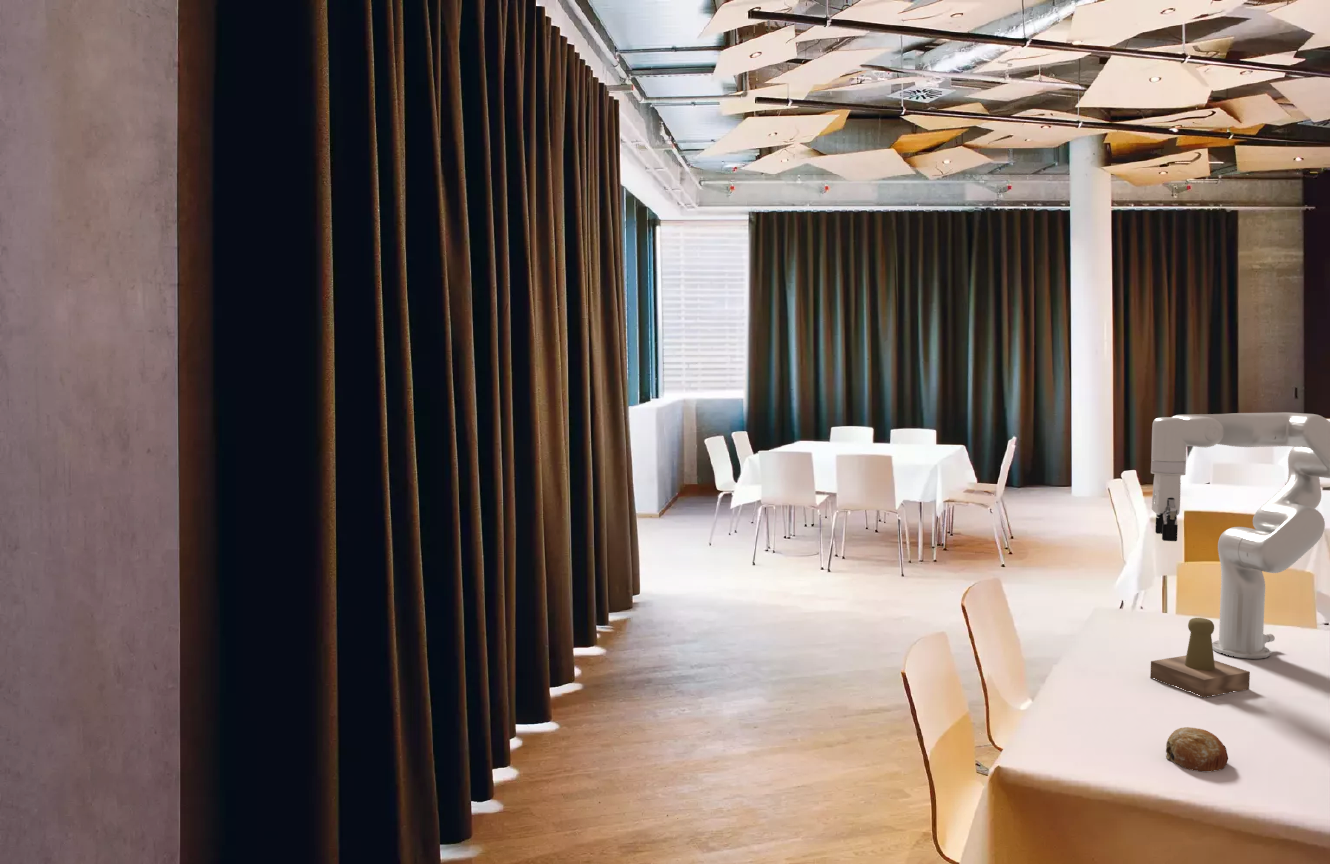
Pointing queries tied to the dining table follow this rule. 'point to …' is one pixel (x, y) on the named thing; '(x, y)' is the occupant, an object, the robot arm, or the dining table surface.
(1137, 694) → the dining table surface
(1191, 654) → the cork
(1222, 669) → the walnut plinth
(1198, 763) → the bread roll
